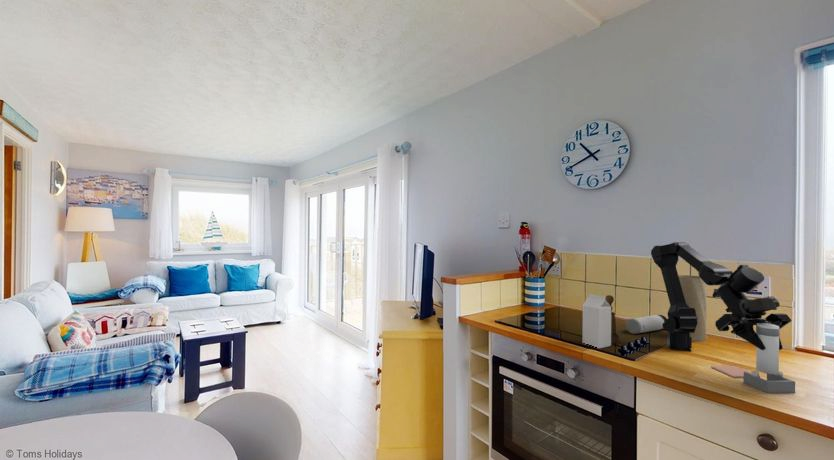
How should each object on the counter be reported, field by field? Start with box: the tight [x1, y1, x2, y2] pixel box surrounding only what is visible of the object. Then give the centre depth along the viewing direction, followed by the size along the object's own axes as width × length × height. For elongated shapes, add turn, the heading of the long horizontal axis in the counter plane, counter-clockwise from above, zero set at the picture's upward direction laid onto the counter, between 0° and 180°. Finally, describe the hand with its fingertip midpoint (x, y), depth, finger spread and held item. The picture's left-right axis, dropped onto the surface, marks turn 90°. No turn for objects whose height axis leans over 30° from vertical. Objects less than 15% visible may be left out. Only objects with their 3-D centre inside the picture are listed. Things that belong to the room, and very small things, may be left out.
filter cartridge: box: [755, 323, 781, 374], centre depth 103 cm, size 5×5×13 cm
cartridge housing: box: [743, 370, 796, 394], centre depth 103 cm, size 7×9×4 cm
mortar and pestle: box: [604, 295, 620, 344], centre depth 145 cm, size 7×6×18 cm
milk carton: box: [582, 293, 612, 349], centre depth 139 cm, size 7×7×19 cm
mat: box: [711, 365, 761, 379], centre depth 113 cm, size 8×8×1 cm
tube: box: [678, 274, 708, 343], centre depth 149 cm, size 10×10×25 cm
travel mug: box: [625, 314, 668, 335], centre depth 158 cm, size 6×7×20 cm
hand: (772, 349), depth 102 cm, fingers closed on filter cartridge, 5 cm apart
